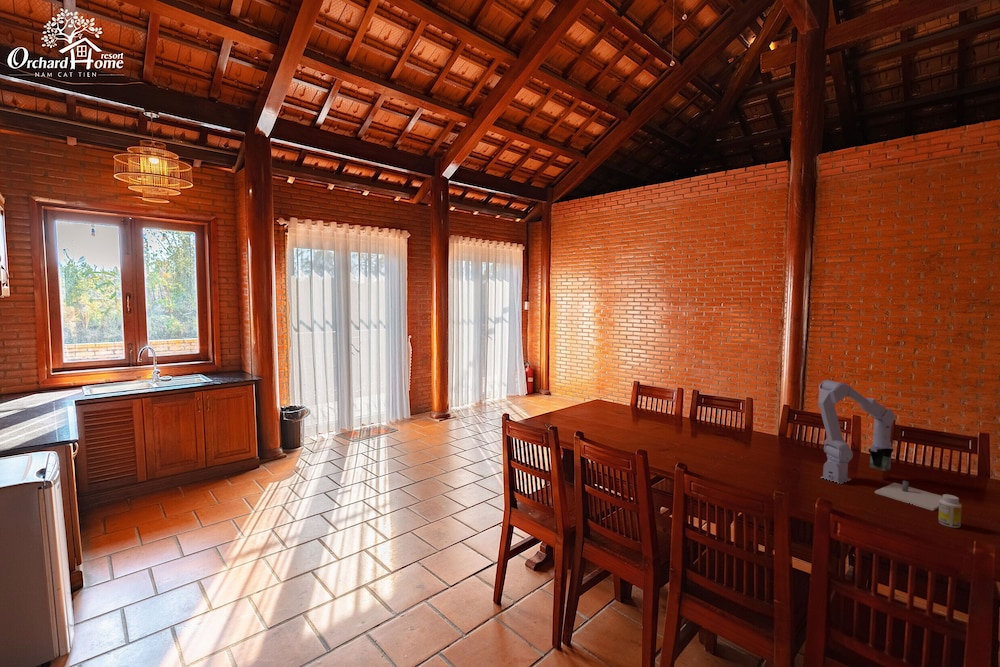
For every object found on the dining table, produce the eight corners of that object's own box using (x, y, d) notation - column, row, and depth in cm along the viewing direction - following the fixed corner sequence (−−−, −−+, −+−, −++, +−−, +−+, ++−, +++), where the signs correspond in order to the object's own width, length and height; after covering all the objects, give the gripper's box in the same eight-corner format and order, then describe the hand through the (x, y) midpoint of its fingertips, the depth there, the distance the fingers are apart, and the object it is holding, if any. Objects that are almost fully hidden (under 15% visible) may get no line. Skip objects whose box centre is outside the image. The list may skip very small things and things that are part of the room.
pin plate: (933, 510, 166) (933, 498, 166) (874, 492, 182) (875, 481, 182) (951, 500, 175) (952, 488, 174) (894, 484, 190) (895, 473, 190)
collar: (884, 471, 193) (885, 459, 192) (869, 467, 197) (870, 456, 197) (890, 468, 195) (890, 457, 195) (875, 465, 200) (876, 454, 200)
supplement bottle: (959, 524, 156) (961, 496, 155) (961, 530, 152) (963, 501, 151) (937, 519, 160) (939, 491, 159) (938, 524, 156) (940, 496, 155)
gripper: (885, 439, 188) (883, 470, 189) (900, 434, 195) (898, 464, 196) (865, 435, 195) (863, 465, 195) (881, 430, 201) (879, 460, 202)
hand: (880, 464), depth 196 cm, fingers closed on collar, 5 cm apart
